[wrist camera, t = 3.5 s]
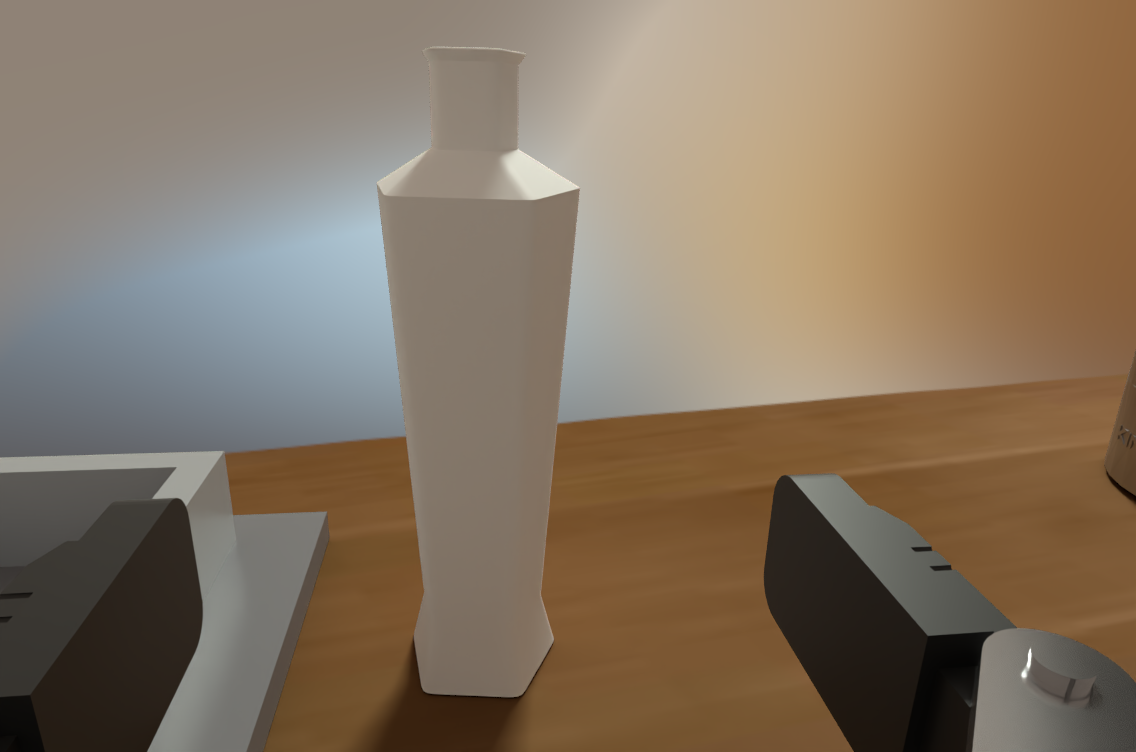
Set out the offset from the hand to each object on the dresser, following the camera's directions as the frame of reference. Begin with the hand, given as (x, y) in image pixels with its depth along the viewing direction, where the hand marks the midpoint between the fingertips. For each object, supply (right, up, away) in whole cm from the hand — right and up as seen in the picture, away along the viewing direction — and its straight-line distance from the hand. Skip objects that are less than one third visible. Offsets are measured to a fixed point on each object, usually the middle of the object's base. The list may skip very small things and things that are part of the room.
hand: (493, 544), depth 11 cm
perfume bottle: (-1, -5, +11) cm, 12 cm away
